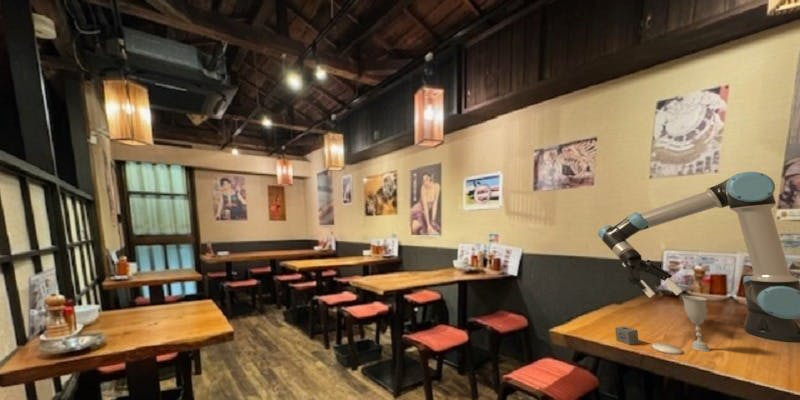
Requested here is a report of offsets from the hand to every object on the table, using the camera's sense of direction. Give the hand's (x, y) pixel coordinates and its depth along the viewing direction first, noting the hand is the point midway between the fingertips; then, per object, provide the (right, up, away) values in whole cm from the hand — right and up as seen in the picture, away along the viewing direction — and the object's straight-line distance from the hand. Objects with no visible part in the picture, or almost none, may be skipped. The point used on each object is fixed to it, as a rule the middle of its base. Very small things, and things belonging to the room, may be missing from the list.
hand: (666, 294), depth 118 cm
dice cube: (-18, -18, -3) cm, 25 cm away
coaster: (-10, -17, -11) cm, 22 cm away
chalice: (+3, -16, -11) cm, 20 cm away
